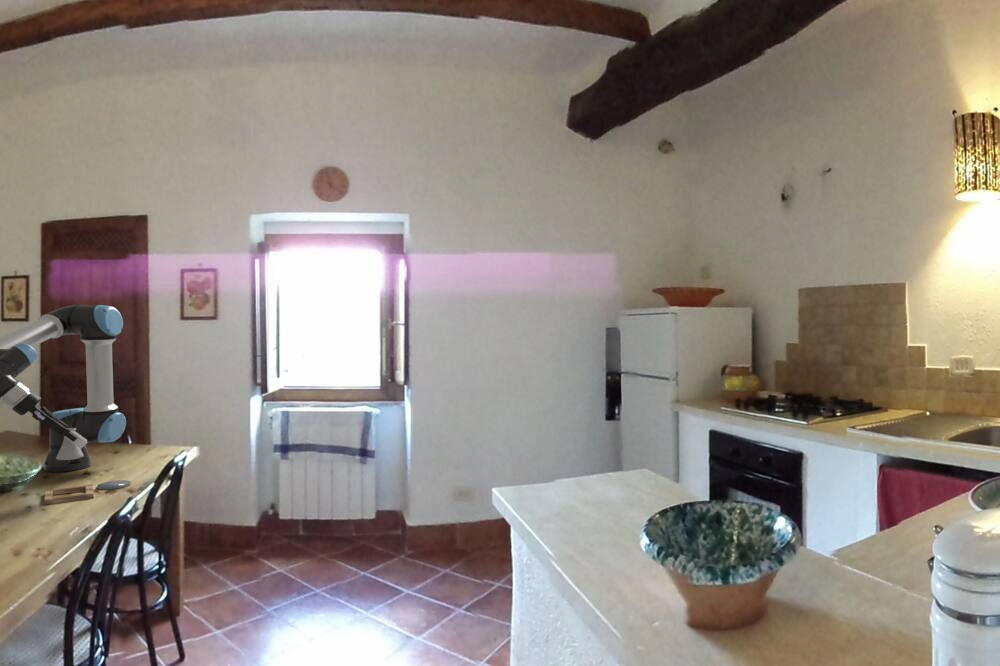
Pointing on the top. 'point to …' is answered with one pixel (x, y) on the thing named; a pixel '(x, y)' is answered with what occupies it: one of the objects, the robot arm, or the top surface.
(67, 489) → the holder
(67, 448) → the flask
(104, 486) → the coaster
